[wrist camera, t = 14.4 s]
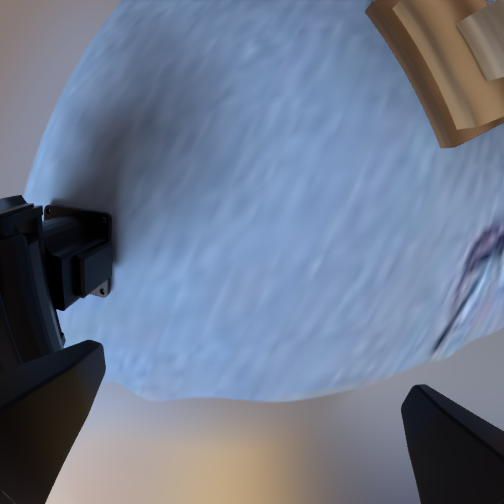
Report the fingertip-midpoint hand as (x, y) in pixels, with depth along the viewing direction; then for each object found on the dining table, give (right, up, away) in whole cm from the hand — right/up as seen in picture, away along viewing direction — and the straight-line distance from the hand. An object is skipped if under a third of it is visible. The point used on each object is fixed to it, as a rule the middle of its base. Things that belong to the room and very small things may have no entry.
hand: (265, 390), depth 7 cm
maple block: (+16, +19, +6) cm, 26 cm away
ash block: (+16, +18, +4) cm, 25 cm away
